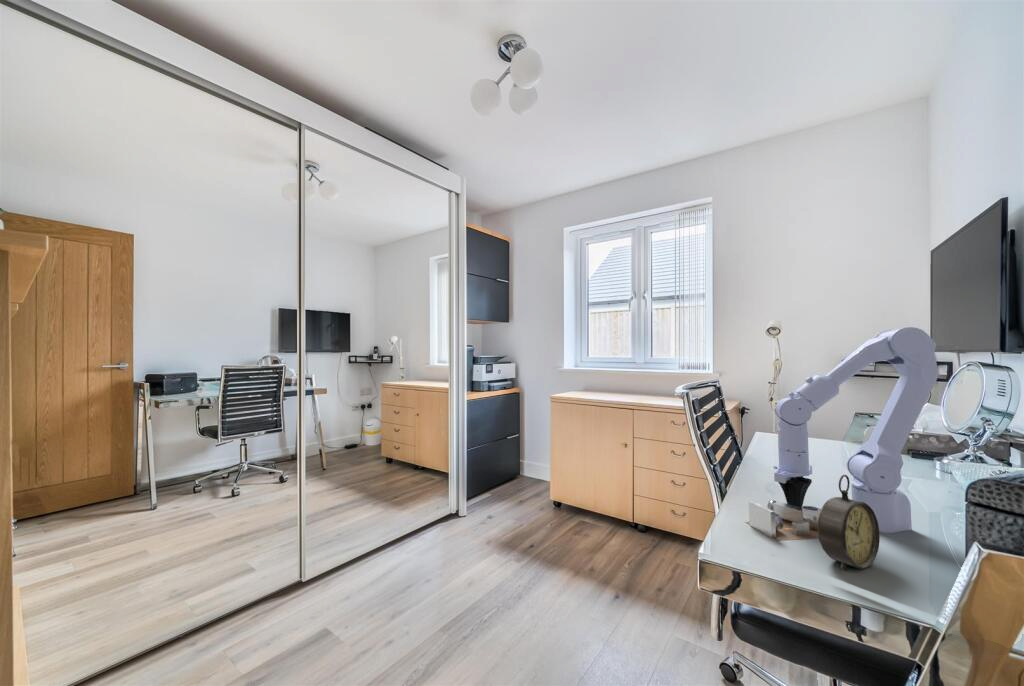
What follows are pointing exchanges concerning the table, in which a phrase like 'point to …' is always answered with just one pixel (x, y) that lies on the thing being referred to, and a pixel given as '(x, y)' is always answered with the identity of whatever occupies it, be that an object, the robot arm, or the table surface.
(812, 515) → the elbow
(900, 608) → the table surface
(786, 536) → the board
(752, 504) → the square plate with knob
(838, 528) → the alarm clock
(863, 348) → the robot arm
